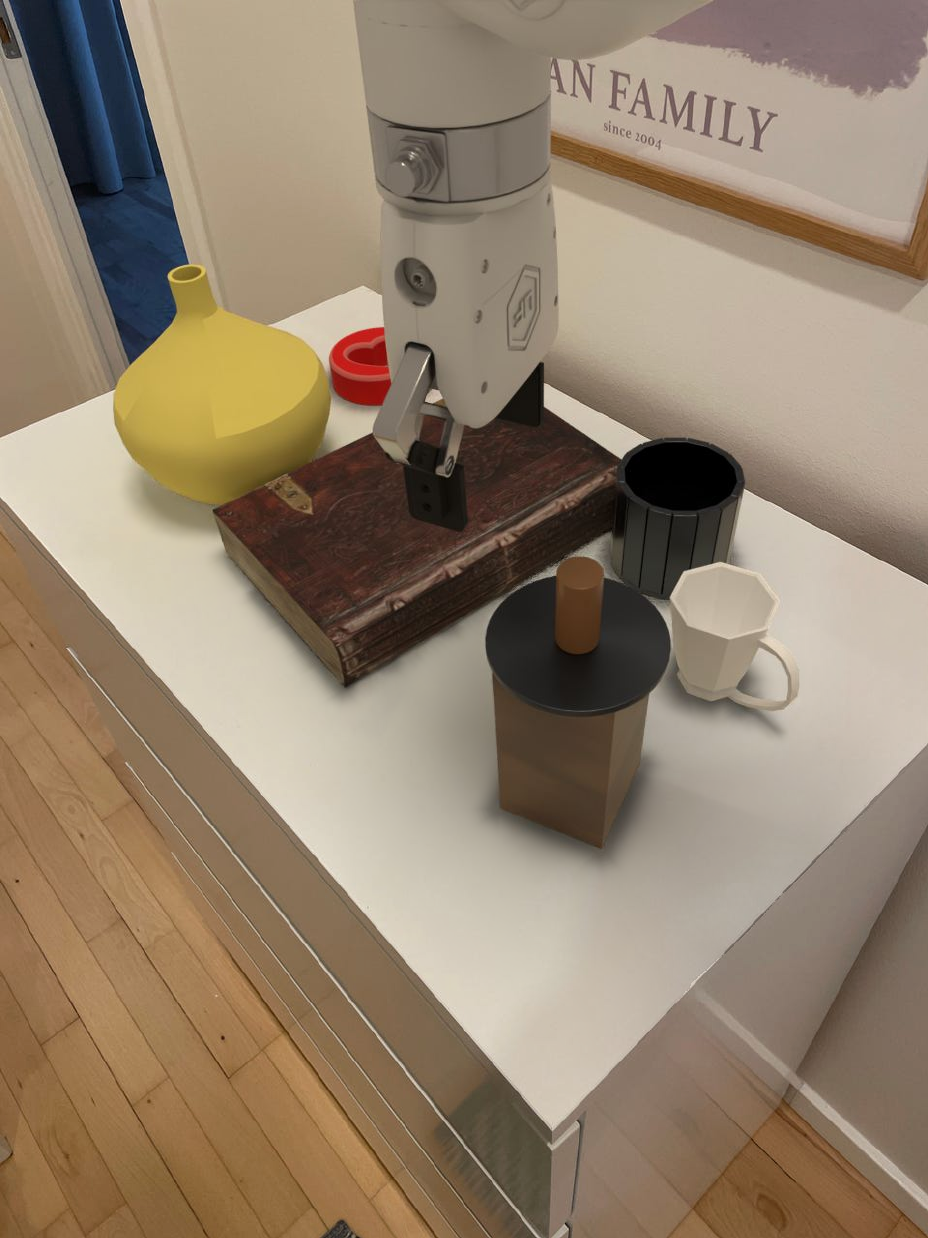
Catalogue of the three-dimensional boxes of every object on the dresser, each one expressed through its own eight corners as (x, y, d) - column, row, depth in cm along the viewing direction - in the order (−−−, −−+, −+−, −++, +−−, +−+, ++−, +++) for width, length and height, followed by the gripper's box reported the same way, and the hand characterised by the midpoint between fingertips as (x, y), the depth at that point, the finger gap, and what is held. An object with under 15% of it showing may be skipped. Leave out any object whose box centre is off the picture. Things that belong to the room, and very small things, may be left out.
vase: (285, 555, 79) (230, 351, 65) (102, 514, 84) (15, 317, 70) (374, 428, 90) (344, 232, 76) (209, 399, 95) (152, 210, 81)
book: (347, 689, 68) (336, 644, 65) (227, 555, 79) (212, 509, 75) (636, 516, 79) (641, 468, 76) (496, 418, 90) (495, 373, 86)
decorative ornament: (380, 417, 91) (375, 389, 89) (314, 383, 96) (308, 355, 94) (447, 372, 96) (444, 344, 94) (380, 342, 101) (377, 315, 98)
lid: (694, 609, 53) (706, 536, 49) (632, 743, 47) (641, 673, 43) (530, 561, 56) (529, 488, 52) (454, 680, 50) (446, 609, 46)
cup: (703, 625, 70) (718, 546, 65) (815, 705, 65) (843, 626, 59) (637, 674, 68) (647, 595, 62) (748, 761, 62) (770, 684, 56)
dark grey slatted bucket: (741, 538, 77) (759, 453, 71) (707, 613, 71) (723, 529, 65) (633, 509, 80) (641, 426, 74) (593, 579, 74) (598, 496, 68)
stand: (640, 763, 63) (659, 619, 52) (601, 849, 58) (614, 712, 48) (542, 728, 65) (543, 584, 55) (499, 808, 61) (491, 669, 51)
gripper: (445, 247, 33) (471, 589, 46) (618, 82, 43) (600, 399, 56) (270, 216, 36) (340, 548, 48) (472, 67, 46) (486, 373, 58)
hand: (480, 468), depth 52 cm, fingers open, 9 cm apart
